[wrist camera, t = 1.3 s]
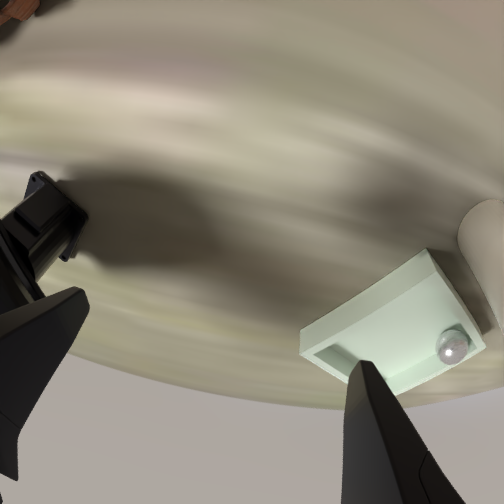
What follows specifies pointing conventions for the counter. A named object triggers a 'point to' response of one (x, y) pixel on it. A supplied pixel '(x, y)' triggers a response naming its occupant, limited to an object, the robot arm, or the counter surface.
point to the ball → (451, 347)
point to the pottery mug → (18, 10)
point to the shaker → (486, 251)
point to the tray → (393, 327)
